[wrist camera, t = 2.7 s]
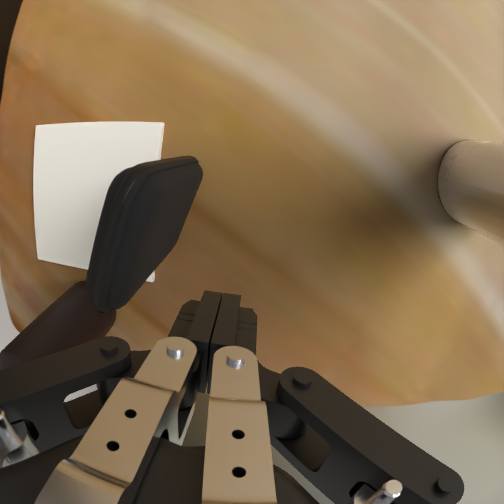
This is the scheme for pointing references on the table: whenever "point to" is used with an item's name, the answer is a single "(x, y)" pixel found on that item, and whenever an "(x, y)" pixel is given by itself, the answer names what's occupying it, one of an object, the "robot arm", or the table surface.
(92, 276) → the carrying case or bag
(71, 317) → the bottle
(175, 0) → the table surface
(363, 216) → the table surface
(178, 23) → the table surface
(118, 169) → the cream paper sheet
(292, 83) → the table surface
